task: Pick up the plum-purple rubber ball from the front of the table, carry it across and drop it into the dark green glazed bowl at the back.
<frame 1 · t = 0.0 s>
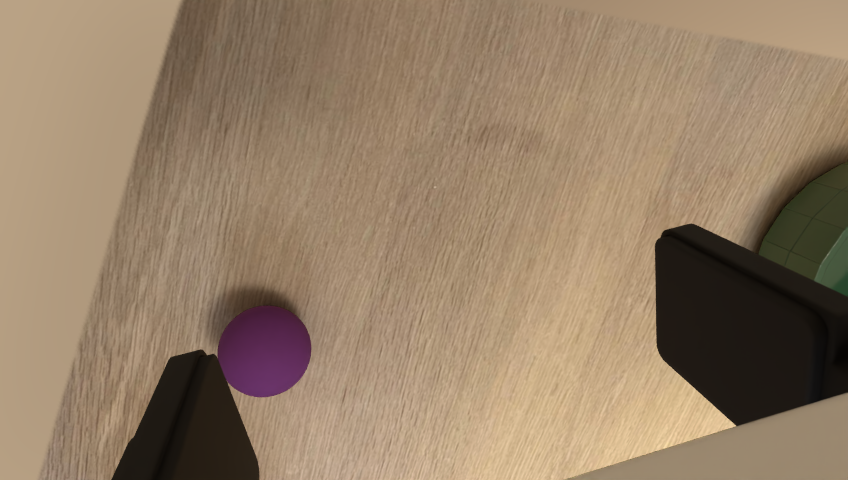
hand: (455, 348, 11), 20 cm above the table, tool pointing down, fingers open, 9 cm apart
bowl: (837, 258, 39), on the table
ball: (265, 350, 30), point 2 cm above the table
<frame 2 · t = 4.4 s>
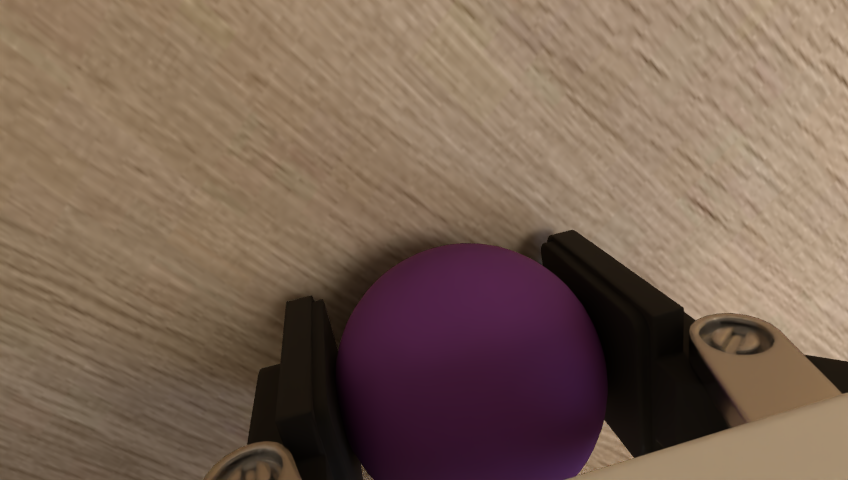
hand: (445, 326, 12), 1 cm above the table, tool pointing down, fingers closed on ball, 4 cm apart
ball: (468, 374, 10), point 2 cm above the table, touching gripper
when the fingers open (3 cm above the table, at t = 13.0 s): ball drops 2 cm, resting on bowl.
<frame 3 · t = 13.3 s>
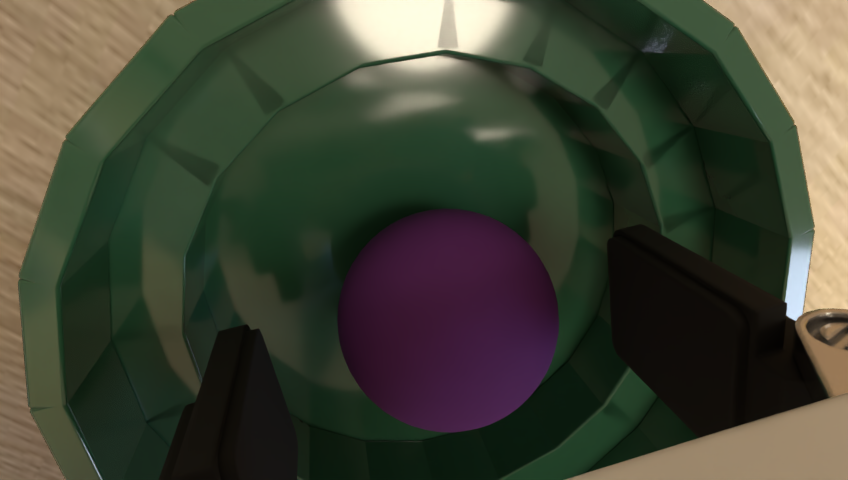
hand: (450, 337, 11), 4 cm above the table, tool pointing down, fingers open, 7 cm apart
bowl: (419, 265, 15), on the table
ball: (447, 317, 12), point 3 cm above the table, touching bowl
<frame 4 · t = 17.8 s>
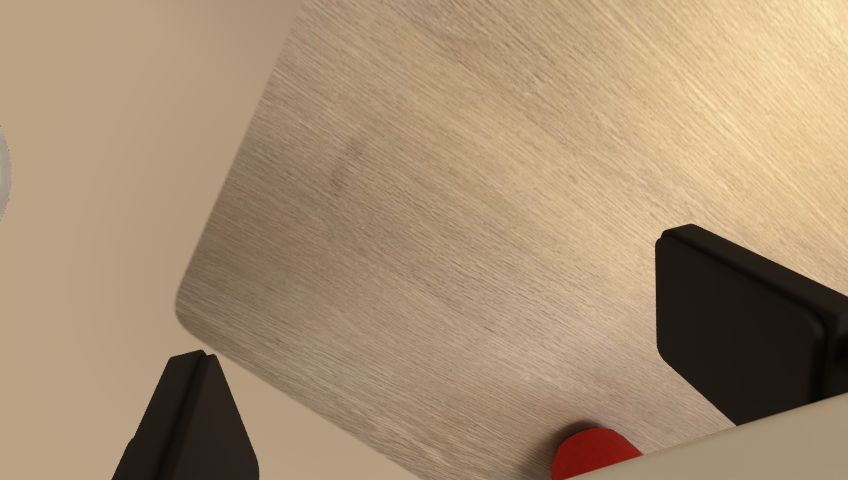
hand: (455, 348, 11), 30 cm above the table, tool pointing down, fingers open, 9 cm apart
apple: (580, 448, 54), on the table
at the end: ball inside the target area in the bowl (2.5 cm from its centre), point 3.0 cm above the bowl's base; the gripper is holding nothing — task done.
